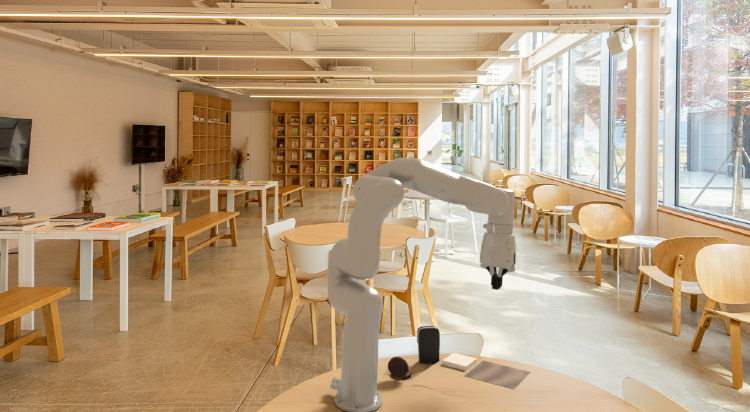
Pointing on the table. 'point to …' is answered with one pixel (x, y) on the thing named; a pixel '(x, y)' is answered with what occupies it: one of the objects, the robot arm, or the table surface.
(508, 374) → the board
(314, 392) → the table surface
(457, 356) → the coaster
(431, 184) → the robot arm
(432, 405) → the table surface
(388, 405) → the table surface
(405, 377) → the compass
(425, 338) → the battery charger
